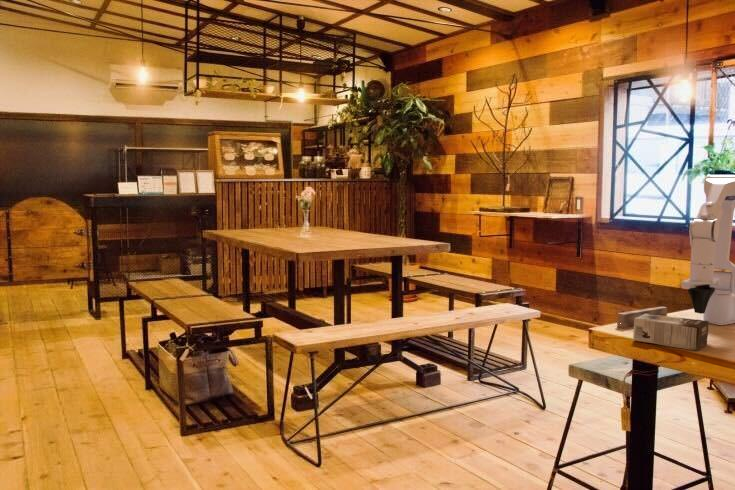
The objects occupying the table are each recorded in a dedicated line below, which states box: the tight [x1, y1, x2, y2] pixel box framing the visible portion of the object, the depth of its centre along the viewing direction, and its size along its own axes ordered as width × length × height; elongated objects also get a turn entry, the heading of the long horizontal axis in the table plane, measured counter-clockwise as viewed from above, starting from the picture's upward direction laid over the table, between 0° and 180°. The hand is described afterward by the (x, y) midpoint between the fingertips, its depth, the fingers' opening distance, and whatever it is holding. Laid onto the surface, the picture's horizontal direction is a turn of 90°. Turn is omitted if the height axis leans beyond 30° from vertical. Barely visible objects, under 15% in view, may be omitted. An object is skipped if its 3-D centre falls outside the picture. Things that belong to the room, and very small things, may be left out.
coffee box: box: [632, 314, 710, 352], centre depth 175 cm, size 9×6×16 cm
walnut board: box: [616, 306, 668, 329], centre depth 198 cm, size 20×2×4 cm, turn 121°
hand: (699, 312), depth 182 cm, fingers closed
